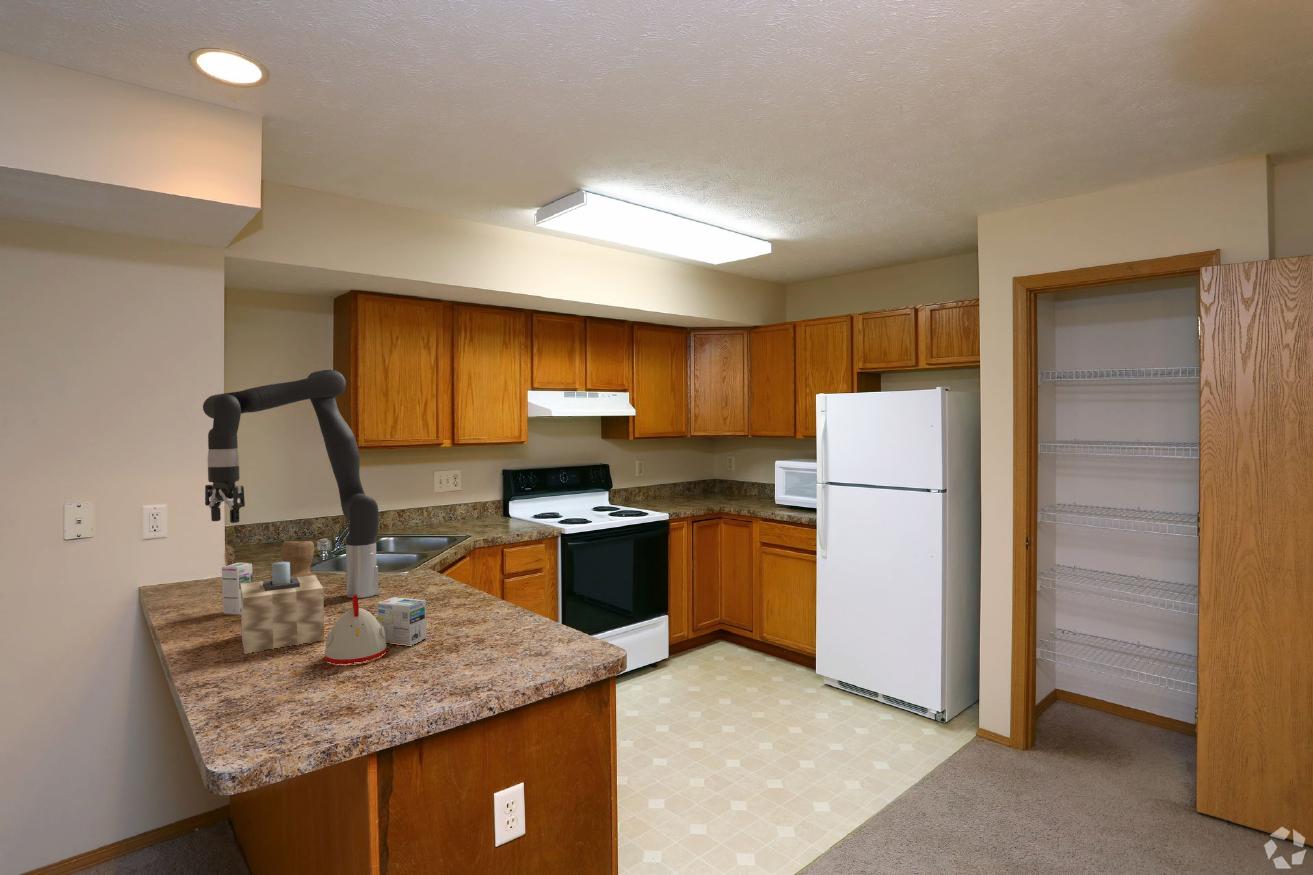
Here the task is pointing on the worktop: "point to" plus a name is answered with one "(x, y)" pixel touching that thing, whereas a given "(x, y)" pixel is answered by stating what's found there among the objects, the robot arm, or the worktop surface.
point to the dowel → (280, 573)
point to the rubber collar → (292, 584)
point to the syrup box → (234, 585)
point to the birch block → (281, 615)
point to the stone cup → (298, 557)
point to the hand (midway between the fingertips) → (225, 521)
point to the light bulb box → (403, 620)
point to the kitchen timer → (355, 637)
